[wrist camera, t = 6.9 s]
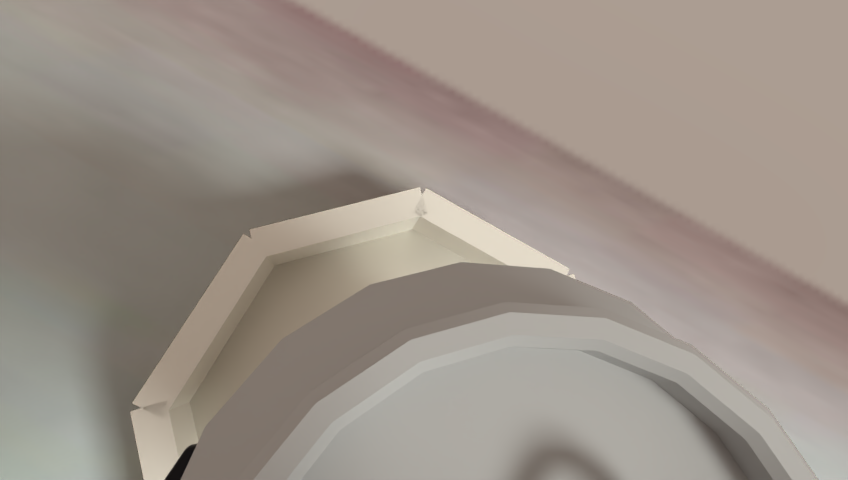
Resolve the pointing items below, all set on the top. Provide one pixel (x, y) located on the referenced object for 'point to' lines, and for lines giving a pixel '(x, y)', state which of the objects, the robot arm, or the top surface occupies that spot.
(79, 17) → the top surface
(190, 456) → the robot arm
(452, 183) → the top surface
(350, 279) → the bowl
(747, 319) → the top surface
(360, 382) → the can
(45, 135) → the top surface
